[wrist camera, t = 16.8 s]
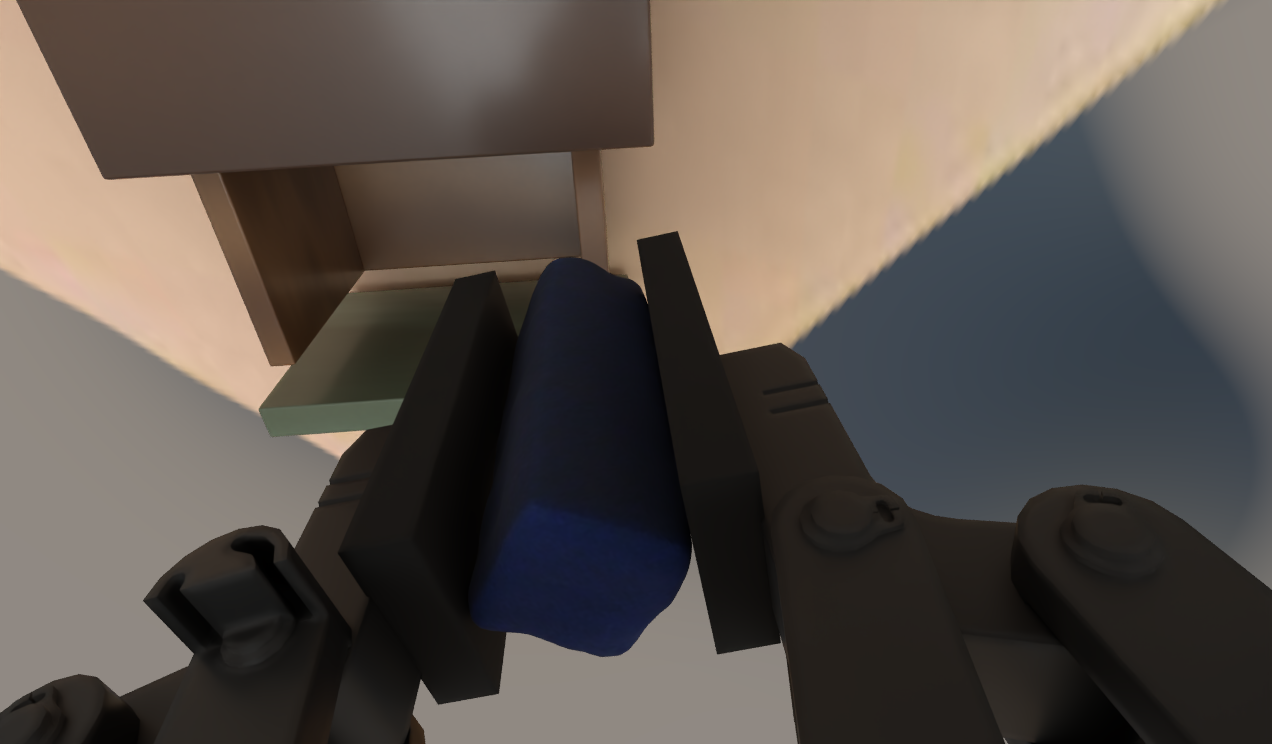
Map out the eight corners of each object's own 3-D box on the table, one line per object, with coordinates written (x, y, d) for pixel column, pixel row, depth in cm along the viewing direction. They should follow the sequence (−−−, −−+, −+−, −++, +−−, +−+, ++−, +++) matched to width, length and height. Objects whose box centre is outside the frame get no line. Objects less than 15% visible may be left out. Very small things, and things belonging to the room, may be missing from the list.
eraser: (554, 238, 12) (514, 504, 6) (660, 288, 12) (717, 570, 7) (509, 330, 13) (440, 635, 7) (610, 372, 13) (622, 681, 8)
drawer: (635, 412, 33) (648, 544, 25) (389, 430, 33) (328, 569, 25) (606, -94, 22) (616, -127, 14) (228, -75, 21) (30, -99, 14)
